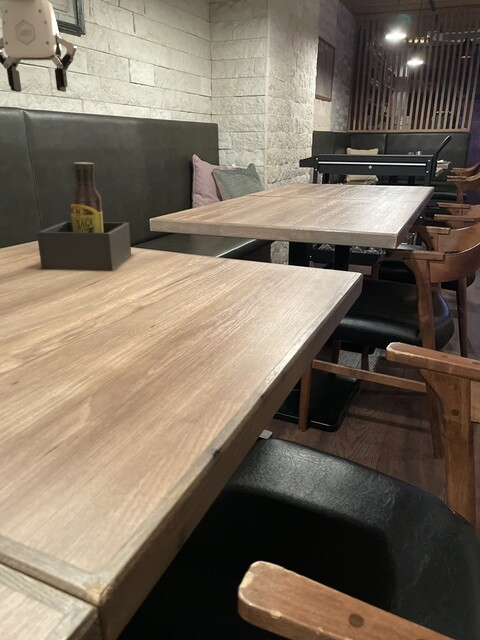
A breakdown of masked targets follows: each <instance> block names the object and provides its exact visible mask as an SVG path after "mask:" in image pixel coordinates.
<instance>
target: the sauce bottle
mask: <svg viewBox="0 0 480 640" xmlns="http://www.w3.org/2000/svg"><path fill="white" fill-rule="evenodd" d="M72 165H73V166H72V169H73V171H74V179H75V180H74V181H75V182H74V187H73V188H74V189H73V193H72V198H71V202H70V221H71V222H72V232H85V233H104V232H103V222H104V217H103V208H102V197H101V195H100V193H99V191H98V190H97V188H96V182H95V168H96V167H95V163H94V162H87V161H85V162H84V161H75V162H73V163H72Z"/></svg>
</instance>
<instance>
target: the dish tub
mask: <svg viewBox="0 0 480 640" xmlns="http://www.w3.org/2000/svg"><path fill="white" fill-rule="evenodd" d="M130 231H131V230H130V222H124V221H123V222H121V221H119V222H117V221H115V222H114V221H103V232H104V233H85V232H72V221H66V220H65V221H62V222H60V223H57V224H55V225H52V226H49V227H47V228H44V229H42V230H39V231H36V235H37V236H36V237H37V243H38V251H39V259H40V266H41V270H53V271H54V270H58V271H61V270H62V271H97V272H98V271H100V272H101V271H103V272H113V271H114V270H115V269H117V268H118V267H119V266H120V265H122V264H123V263H124V262H126V261H127V260H128V259H129V258H130V257H132V249H131V248H132V247H131V233H130Z"/></svg>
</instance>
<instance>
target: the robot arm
mask: <svg viewBox="0 0 480 640" xmlns="http://www.w3.org/2000/svg"><path fill="white" fill-rule="evenodd" d="M1 7H2V8H1V30H2V31H1V32H2V37H1V38H0V64H1V65H2V66H3V68H4V69H6V74H7V81H8V86H9V87H10V90H11V91H13V92H17V93H20V92H22V83H21V77H20V71H19V70H17V67H18V66H19V64H20V63H21V61H52V63H53V64H54V65H55V66H56V68H55V69H54V75H55V85H56V90H57V91H58V92H61V93H63V92H64V93H65V92H66V93H67V87H68V77H67V71H68V70H69V67H70V65H71V64H72V63H73V61H74V57H75V54H76V52H77V48H78V47H77V45H76V44H74V43H72V42H70V41H69V40H67V39H65V38H63V37H61V36H60V32H59V28H58V22H57V19H56V15H55V10H54V8H53V5H52V3H51V2H50V1H49V0H2V4H1ZM62 47H64V48H66V52H65V54H64V55H63V57H62ZM3 49H4V53H5V55H4V53H3Z"/></svg>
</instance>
